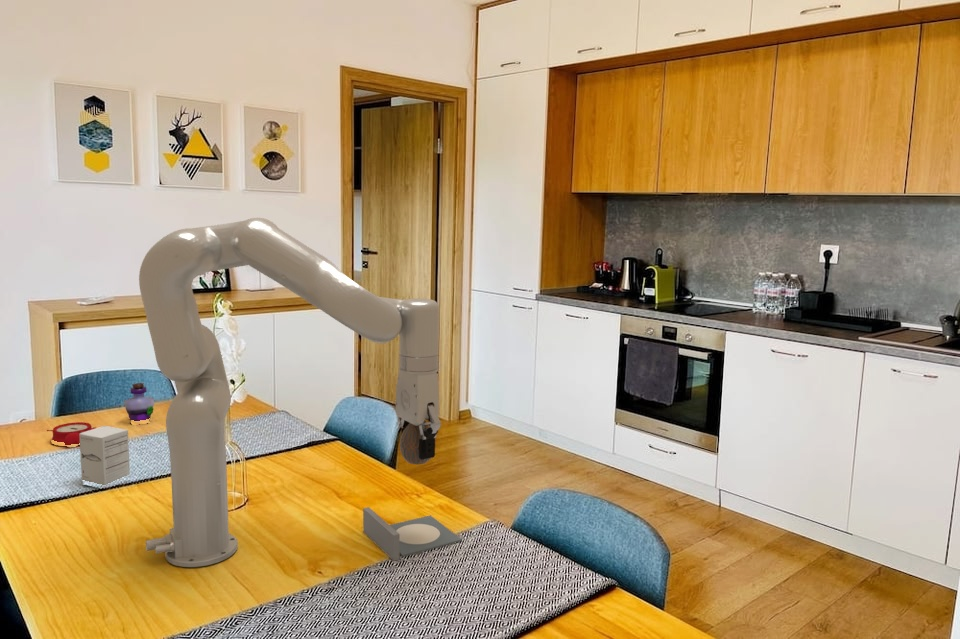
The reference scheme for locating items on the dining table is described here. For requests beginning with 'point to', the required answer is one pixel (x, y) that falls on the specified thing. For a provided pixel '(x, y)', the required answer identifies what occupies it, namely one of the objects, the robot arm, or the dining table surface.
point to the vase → (412, 444)
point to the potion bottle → (139, 403)
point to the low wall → (381, 533)
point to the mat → (423, 535)
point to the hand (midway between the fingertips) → (417, 451)
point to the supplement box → (104, 454)
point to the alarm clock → (70, 432)
